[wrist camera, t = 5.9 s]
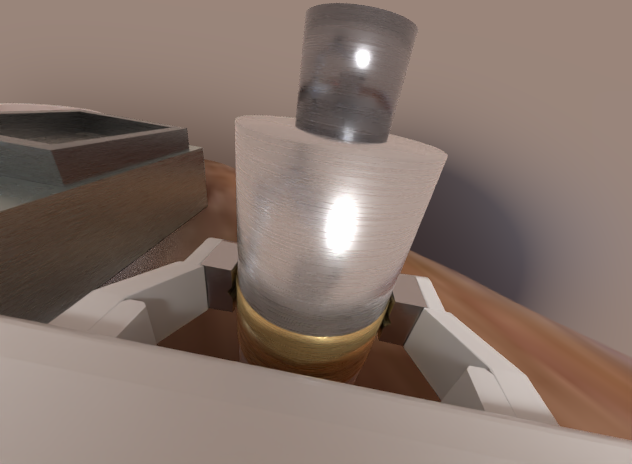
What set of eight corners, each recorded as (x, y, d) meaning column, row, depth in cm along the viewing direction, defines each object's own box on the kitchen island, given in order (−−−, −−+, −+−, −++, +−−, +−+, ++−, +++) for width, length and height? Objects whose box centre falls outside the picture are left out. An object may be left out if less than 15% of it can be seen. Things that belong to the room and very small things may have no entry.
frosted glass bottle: (218, 439, 9) (154, -74, 3) (259, 330, 13) (272, 35, 7) (346, 465, 9) (601, -3, 3) (346, 347, 13) (440, 63, 7)
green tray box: (-261, 324, 10) (-578, 119, 6) (111, 188, 26) (88, 107, 22) (-19, 374, 10) (-191, 193, 6) (207, 205, 25) (201, 127, 22)
